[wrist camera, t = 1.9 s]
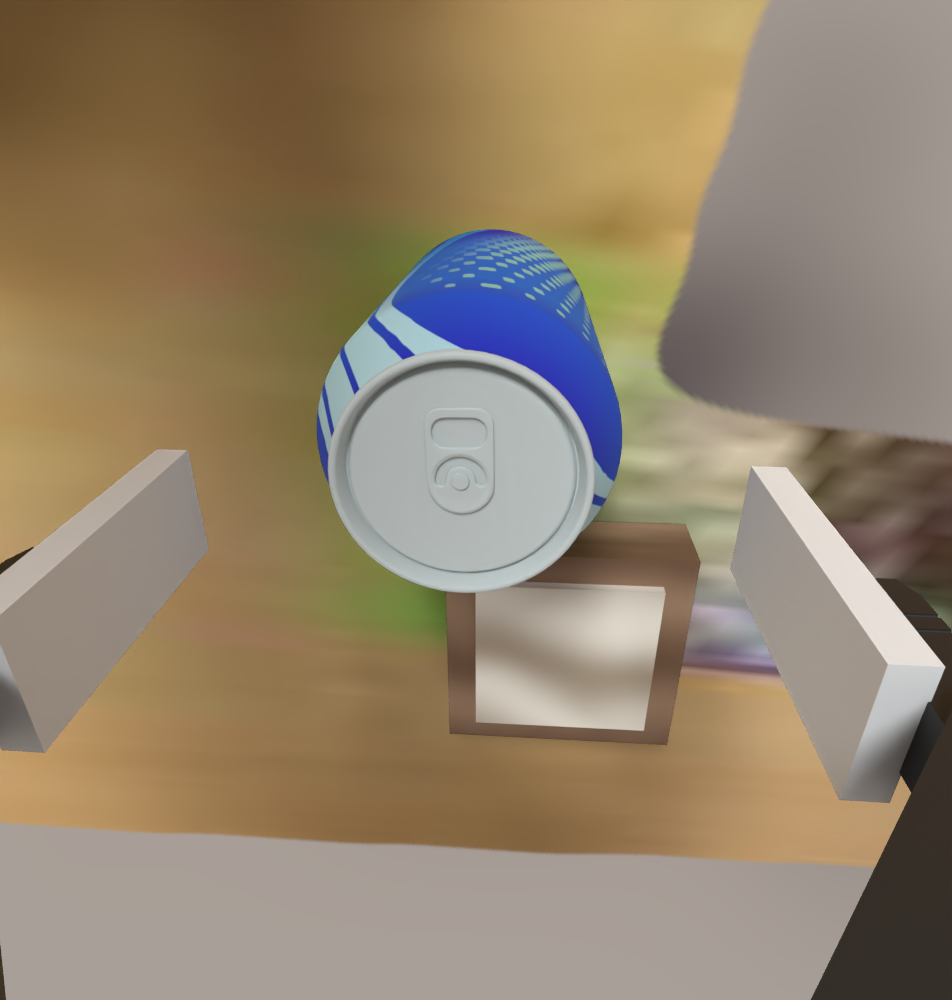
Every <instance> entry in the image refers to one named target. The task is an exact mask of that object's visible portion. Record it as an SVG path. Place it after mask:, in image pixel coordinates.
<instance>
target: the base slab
mask: <svg viewBox="0 0 952 1000" xmlns="http://www.w3.org/2000/svg"><path fill="white" fill-rule="evenodd" d="M699 568H700V559H699V557H698V554H697V552H696V549H695V547H694V544H693V542H692V539H691V537H690V534H689V532H688V530H687V527H686V525H685V524H662V523H631V522H600V521H591V523H590V524H589V525H588V526H587V527H586V528H585V529H584V530H583V531H582V533H581V534H580V535H578V536H577V538H576V540H575V541H574V542H573V543H572V545H571V546H570V547H569V549H568V550H567V551H566V552H565V553H564V554H563V555H562V556H561V557H560V558H559V559H558V560H557V561H555V562H554V563H553V564H552V565H551V566H549V567H548V568H547V569H545V570H544V571H542V572H541V573H539V574H537V575H536V576H534V577H532V578H530V579H528V580H526V581H524V582H521V583H519V584H516V585H513V586H510V587H507V588H503V589H499V590H494V591H488V592H479V593H457V592H447V591H446V614H447V650H448V686H449V723H450V734H467V735H486V736H505V737H524V738H543V739H563V740H582V741H601V742H620V743H639V744H658V745H667V742H668V736H669V731H670V726H671V720H672V715H673V709H674V704H675V698H676V693H677V687H678V682H679V677H680V671H681V666H682V660H683V655H684V649H685V644H686V639H687V633H688V628H689V622H690V617H691V611H692V606H693V600H694V595H695V590H696V584H697V579H698V573H699Z"/></svg>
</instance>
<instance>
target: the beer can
mask: <svg viewBox="0 0 952 1000" xmlns="http://www.w3.org/2000/svg"><path fill="white" fill-rule="evenodd" d="M317 440H318V448H319V453H320V458H321V463H322V466H323V470H324V473H325V476H326V478H327V481H328V483H329V486H330V490H331V495H332V498H333V501H334V504H335V507H336V509H337V512H338V514H339V516H340V518H341V520H342V522H343V524H344V526H345V527H346V529H347V530H348V532H349V533H350V535H351V536H352V538H353V539H354V540H355V541H356V543H357V544H358V545H359V546H360V547H361V548H362V549H363V550H364V551H365V552H366V553H367V554H368V555H369V556H370V557H371V558H372V559H374V560H375V561H376V562H377V563H379V564H380V565H381V566H383V567H384V568H386V569H387V570H389V571H391V572H392V573H394V574H395V575H397V576H399V577H401V578H403V579H405V580H408V581H410V582H413V583H415V584H418V585H421V586H424V587H427V588H431V589H436V590H440V591H447V592H457V593H479V592H488V591H494V590H499V589H503V588H507V587H510V586H513V585H516V584H519V583H521V582H524V581H526V580H528V579H530V578H532V577H534V576H536V575H537V574H539V573H541V572H542V571H544V570H545V569H547V568H548V567H549V566H551V565H552V564H553V563H554V562H555V561H557V560H558V559H559V558H560V557H561V556H562V555H563V554H564V553H565V552H566V551H567V550H568V549H569V547H570V546H571V545H572V543H573V542H574V541H575V540H576V538H577V536H578V535H580V534H581V533H582V531H583V530H584V529H585V528H586V527H587V526H588V525H589V524H590V523H591V521H592V520H593V519H594V517H595V516H596V515H597V513H598V512H599V510H600V509H601V507H602V506H603V504H604V502H605V501H606V499H607V497H608V495H609V493H610V491H611V489H612V486H613V483H614V481H615V478H616V475H617V471H618V467H619V463H620V457H621V450H622V423H621V414H620V408H619V403H618V400H617V396H616V393H615V390H614V386H613V383H612V380H611V377H610V374H609V371H608V368H607V365H606V362H605V359H604V357H603V354H602V351H601V348H600V345H599V342H598V339H597V336H596V333H595V330H594V327H593V324H592V321H591V318H590V315H589V312H588V309H587V306H586V303H585V300H584V297H583V294H582V291H581V289H580V287H579V284H578V283H577V281H576V279H575V277H574V275H573V274H572V273H571V271H570V270H569V268H568V267H567V266H566V265H565V263H564V262H563V261H562V260H561V259H560V258H559V257H558V256H557V255H556V254H555V253H554V252H552V251H551V250H550V249H548V248H547V247H546V246H544V245H542V244H541V243H539V242H538V241H536V240H533V239H531V238H529V237H527V236H524V235H521V234H518V233H514V232H510V231H504V230H477V231H472V232H467V233H464V234H460V235H458V236H455V237H453V238H450V239H448V240H446V241H444V242H443V243H441V244H439V245H438V246H436V247H435V248H433V249H432V250H431V251H430V252H429V253H427V254H426V255H425V256H424V257H423V258H422V259H421V260H420V261H419V262H418V263H417V264H416V266H415V267H414V268H413V269H412V270H411V271H410V272H409V273H408V274H407V276H406V277H405V278H404V279H403V280H402V281H401V282H400V283H399V284H398V286H397V287H396V288H395V289H394V290H393V291H392V292H391V293H390V294H389V296H388V297H387V298H386V299H385V300H384V301H383V302H382V303H381V304H380V306H379V307H378V308H377V309H376V310H375V311H374V312H373V313H372V314H371V316H370V317H369V318H368V319H367V320H366V321H365V322H364V323H363V324H362V326H361V327H360V328H359V329H358V330H357V331H356V332H355V333H354V334H353V336H352V337H351V338H350V339H349V340H348V342H347V343H346V344H345V346H344V347H343V348H342V349H341V351H340V353H339V354H338V356H337V357H336V359H335V361H334V362H333V365H332V367H331V369H330V371H329V373H328V375H327V377H326V380H325V383H324V386H323V389H322V392H321V396H320V401H319V406H318V414H317Z"/></svg>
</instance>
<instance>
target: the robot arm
mask: <svg viewBox="0 0 952 1000" xmlns="http://www.w3.org/2000/svg"><path fill="white" fill-rule="evenodd" d="M208 549H209V548H208V543H207V538H206V534H205V529H204V524H203V520H202V515H201V510H200V505H199V501H198V496H197V491H196V487H195V482H194V477H193V473H192V468H191V463H190V459H189V454H188V450H165V449H156V450H155V451H154V452H153V453H151V454H150V455H149V456H148V457H146V458H145V459H144V460H143V461H141V462H140V463H139V464H138V465H136V466H135V467H134V468H133V469H131V470H130V471H129V472H128V473H126V474H125V475H124V476H123V477H121V478H120V479H119V480H118V481H116V482H115V483H114V484H113V485H111V486H110V487H109V488H108V489H107V490H105V491H104V492H103V493H102V494H100V495H99V496H98V497H97V498H95V499H94V500H93V501H92V502H90V503H89V504H88V505H87V506H85V507H84V508H83V509H82V510H80V511H79V512H78V513H77V514H75V515H74V516H73V517H72V518H70V519H69V520H68V521H67V522H65V523H64V524H63V525H62V526H60V527H59V528H58V529H57V530H55V531H54V532H53V533H52V534H50V535H49V536H48V537H47V538H45V539H44V540H43V541H42V542H40V543H39V544H38V545H37V546H35V547H32V548H30V549H28V550H26V551H24V552H22V553H20V554H18V555H16V556H13V557H11V558H9V559H7V560H5V561H4V562H3V563H1V564H0V747H1V749H2V750H9V751H25V752H42V753H45V752H46V750H47V749H48V748H49V747H50V745H51V744H52V743H53V742H54V740H55V739H56V738H57V737H58V735H59V734H60V733H61V732H62V731H63V729H64V728H65V727H66V726H67V724H68V723H69V722H70V721H71V719H72V718H73V717H74V716H75V714H76V713H77V712H78V711H79V709H80V708H81V707H82V706H83V704H84V703H85V702H86V701H87V699H88V698H89V697H90V696H91V695H92V693H93V692H94V691H95V690H96V688H97V687H98V686H99V685H100V683H101V682H102V681H103V680H104V678H105V677H106V676H107V675H108V673H109V672H110V671H111V670H112V668H113V667H114V666H115V665H116V664H117V662H118V661H119V660H120V659H121V657H122V656H123V655H124V654H125V652H126V651H127V650H128V649H129V647H130V646H131V645H132V644H133V642H134V641H135V640H136V639H137V637H138V636H139V635H140V634H141V632H142V631H143V630H144V629H145V628H146V626H147V625H148V624H149V623H150V621H151V620H152V619H153V618H154V616H155V615H156V614H157V613H158V611H159V610H160V609H161V608H162V606H163V605H164V604H165V603H166V601H167V600H168V599H169V598H170V596H171V595H172V594H173V593H174V592H175V590H176V589H177V588H178V587H179V585H180V584H181V583H182V582H183V580H184V579H185V578H186V577H187V575H188V574H189V573H190V572H191V570H192V569H193V568H194V567H195V565H196V564H197V563H198V562H199V560H200V559H201V558H202V557H203V556H204V554H205V553H206V552H207V551H208ZM730 569H731V572H732V574H733V576H734V578H735V580H736V582H737V584H738V586H739V588H740V591H741V593H742V595H743V597H744V599H745V601H746V603H747V605H748V608H749V610H750V612H751V614H752V616H753V618H754V620H755V622H756V624H757V627H758V629H759V631H760V633H761V635H762V637H763V639H764V641H765V644H766V646H767V648H768V650H769V652H770V654H771V656H772V658H773V660H774V663H775V665H776V667H777V669H778V671H779V673H780V675H781V677H782V679H783V682H784V684H785V686H786V688H787V690H788V692H789V694H790V696H791V699H792V701H793V703H794V705H795V707H796V709H797V711H798V713H799V715H800V718H801V720H802V722H803V724H804V726H805V728H806V730H807V732H808V735H809V737H810V739H811V741H812V743H813V745H814V747H815V749H816V751H817V754H818V756H819V758H820V760H821V762H822V764H823V766H824V768H825V771H826V773H827V775H828V777H829V779H830V781H831V783H832V785H833V787H834V790H835V792H836V794H837V796H838V798H839V800H849V801H866V802H883V803H890V801H891V798H892V796H893V794H894V791H895V789H896V786H897V784H898V781H899V779H900V776H902V778H903V779H904V781H905V783H906V784H907V786H908V788H909V790H910V791H911V795H910V797H909V799H908V801H907V803H906V805H905V807H904V809H903V811H902V814H901V816H900V818H899V820H898V822H897V824H896V826H895V828H894V830H893V832H892V834H891V836H890V838H889V840H888V842H887V844H886V846H885V848H884V851H883V853H882V855H881V857H880V859H879V861H878V863H877V865H876V867H875V869H874V871H873V873H872V875H871V877H870V879H869V882H868V883H867V886H866V888H865V890H864V892H863V894H862V896H861V898H860V900H859V902H858V904H857V906H856V908H855V910H854V912H853V914H852V916H851V918H850V921H849V923H848V925H847V927H846V929H845V931H844V933H843V935H842V937H841V939H840V941H839V943H838V945H837V947H836V949H835V952H834V953H833V955H832V958H831V960H830V962H829V964H828V966H827V968H826V970H825V972H824V974H823V976H822V978H821V980H820V982H819V985H818V986H817V988H816V990H815V992H814V994H813V997H812V999H811V1000H952V633H951V629H950V628H949V627H948V626H947V624H946V623H945V622H944V621H943V620H942V619H941V618H938V614H937V613H936V612H935V611H934V609H933V608H932V607H931V606H930V605H929V604H928V603H927V601H926V600H925V599H924V598H923V597H922V596H921V595H920V594H918V593H917V592H915V591H913V590H912V589H910V588H909V587H907V586H906V585H904V584H903V583H901V582H900V581H898V580H897V579H882V578H874V577H873V576H872V574H871V573H870V572H869V571H868V569H867V568H866V567H865V566H864V564H863V563H862V562H861V561H860V559H859V558H858V557H857V556H856V554H855V553H854V552H853V551H852V549H851V548H850V547H849V546H848V544H847V543H846V542H845V541H844V539H843V538H842V537H841V536H840V534H839V533H838V532H837V531H836V529H835V528H834V527H833V526H832V524H831V523H830V522H829V521H828V519H827V518H826V517H825V516H824V514H823V513H822V512H821V510H820V509H819V508H818V507H817V505H816V504H815V503H814V502H813V500H812V499H811V498H810V497H809V495H808V494H807V493H806V492H805V490H804V489H803V488H802V487H801V485H800V484H799V483H798V482H797V480H796V479H795V478H794V477H793V475H792V474H791V473H790V472H789V470H788V469H787V468H786V467H755V466H751V470H750V475H749V480H748V485H747V490H746V495H745V500H744V505H743V510H742V514H741V519H740V524H739V529H738V534H737V539H736V544H735V549H734V554H733V558H732V563H731V568H730ZM0 1000H6V997H5V986H4V976H3V966H2V957H1V947H0Z"/></svg>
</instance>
